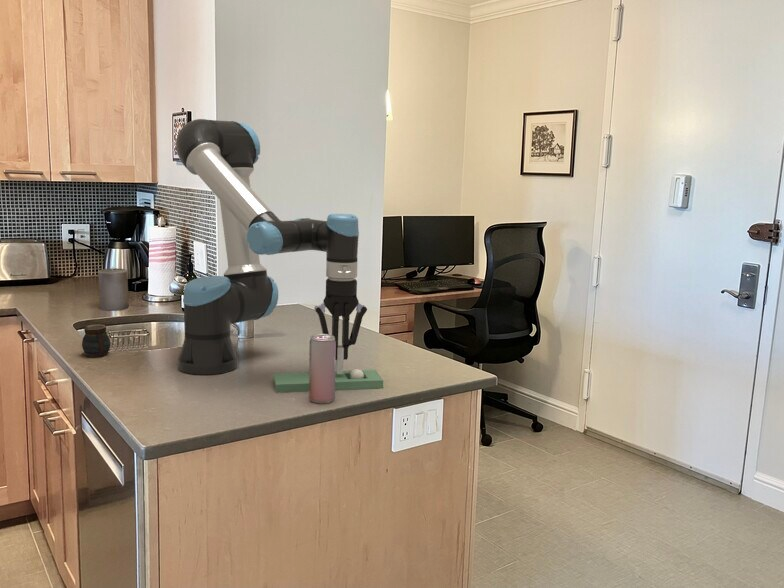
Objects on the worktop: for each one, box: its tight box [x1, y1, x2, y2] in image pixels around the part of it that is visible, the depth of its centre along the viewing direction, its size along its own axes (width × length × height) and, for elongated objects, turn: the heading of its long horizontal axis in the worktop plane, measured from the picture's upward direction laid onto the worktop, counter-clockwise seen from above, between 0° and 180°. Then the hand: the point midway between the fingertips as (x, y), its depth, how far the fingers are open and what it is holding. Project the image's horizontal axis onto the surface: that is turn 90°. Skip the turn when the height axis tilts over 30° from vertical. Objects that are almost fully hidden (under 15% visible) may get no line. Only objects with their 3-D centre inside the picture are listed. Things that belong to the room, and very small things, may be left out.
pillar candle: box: [97, 267, 130, 312], centre depth 250 cm, size 10×10×15 cm
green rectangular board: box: [272, 369, 384, 394], centre depth 173 cm, size 26×9×2 cm, turn 104°
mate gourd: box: [79, 321, 111, 358], centre depth 191 cm, size 7×8×10 cm
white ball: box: [350, 368, 364, 379], centre depth 175 cm, size 4×4×4 cm
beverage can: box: [308, 333, 336, 405], centre depth 161 cm, size 6×6×15 cm
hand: (339, 372), depth 174 cm, fingers closed
